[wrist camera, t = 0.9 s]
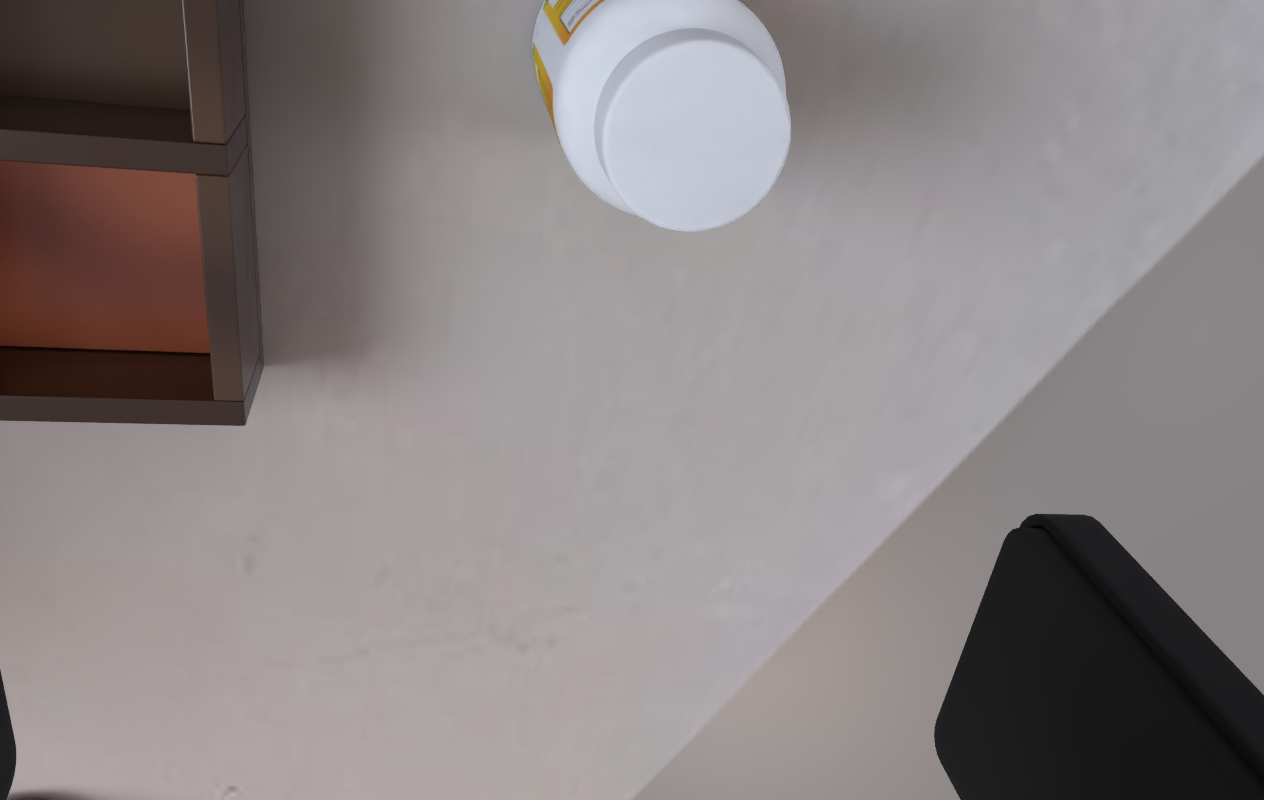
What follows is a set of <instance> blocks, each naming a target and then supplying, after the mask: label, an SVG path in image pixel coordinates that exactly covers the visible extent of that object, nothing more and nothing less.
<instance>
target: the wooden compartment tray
mask: <svg viewBox="0 0 1264 800" xmlns="http://www.w3.org/2000/svg"><path fill="white" fill-rule="evenodd" d="M263 368H264V362H263V345H262V327H261V309H260V291H259V274H258V256H257V238H256V220H255V203H254V185H253V167H252V150H251V132H250V114H249V96H248V79H247V61H246V43H245V25H244V8H243V0H0V420H4V421H50V422H96V423H142V424H188V425H235V426H244V425H246V422H247V418H248V415H249V412H250V409H251V406H252V403H253V400H254V396H255V393H256V390H257V387H258V384H259V381H260V377H261V374H262V371H263Z"/></svg>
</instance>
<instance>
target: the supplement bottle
mask: <svg viewBox="0 0 1264 800" xmlns="http://www.w3.org/2000/svg"><path fill="white" fill-rule="evenodd" d="M532 52H533V64H534V70H535V75H536V78H537V82H538V85H539V88H540V91H541V94H542V96H543V99H544V101H545V104H546V106H547V109H548V111H549V114H550V117H551V120H552V122H553V125H554V128H555V131H556V134H557V137H558V140H559V143H560V145H561V148H562V150H563V152H564V154H565V156H566V157H567V159H568V161H569V163H570V164H571V166H572V168H573V169H574V171H575V172H576V174H577V175H578V176H579V178H580V179H581V180H582V181H583V183H584V184H585V185H586V186H587V187H588V188H589V189H590V190H591V191H592V192H593V193H594V194H596V195H597V196H599V197H600V198H601V199H602V200H603V201H605V202H607V203H608V204H610V205H612V206H614V207H616V208H618V209H620V210H622V211H624V212H627V213H630V214H633V215H636V216H640V217H642V218H643V219H645V220H646V221H648V222H650V223H652V224H654V225H657V226H659V227H662V228H666V229H670V230H674V231H683V232H696V231H706V230H711V229H714V228H718V227H721V226H724V225H726V224H728V223H731V222H733V221H735V220H737V219H738V218H740V217H742V216H743V215H745V214H746V213H748V212H749V211H750V210H751V209H753V208H754V207H755V206H756V205H758V204H759V203H760V202H761V201H762V200H763V198H764V197H765V196H766V195H767V193H768V192H769V191H770V190H771V188H772V187H773V186H774V184H775V182H776V181H777V179H778V177H779V175H780V173H781V171H782V169H783V167H784V164H785V162H786V158H787V155H788V151H789V146H790V140H791V118H790V110H789V105H788V102H787V99H786V83H785V75H784V70H783V65H782V62H781V58H780V55H779V52H778V49H777V47H776V45H775V43H774V41H773V39H772V37H771V36H770V34H769V32H768V31H767V29H766V28H765V26H764V25H763V24H762V22H761V21H760V20H759V19H758V18H757V16H756V15H755V14H754V13H753V12H752V11H751V10H750V9H748V8H747V7H746V6H745V5H744V4H743V3H742V2H740V1H739V0H544V2H543V5H542V7H541V9H540V12H539V14H538V17H537V20H536V24H535V28H534V34H533V44H532Z"/></svg>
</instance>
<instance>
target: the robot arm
mask: <svg viewBox="0 0 1264 800" xmlns="http://www.w3.org/2000/svg"><path fill="white" fill-rule="evenodd" d="M934 738H935V747H936V751H937V755H938V757H939V759H940V762H941V764H942V766H943V767H944V769H945V771H946V773H947V775H948V777H949V778H950V781H951V782H952V784H953V786H954V788H955V790H956V792H957V794H958V796H959V797H960V799H961V800H1264V695H1263V694H1262V693H1261V692H1260V691H1259V690H1258V689H1257V688H1256V687H1255V686H1254V685H1253V684H1252V682H1251V681H1250V680H1249V679H1248V678H1247V677H1246V676H1245V675H1244V674H1243V673H1242V672H1241V671H1240V670H1239V669H1238V668H1237V667H1236V666H1235V665H1234V663H1233V662H1232V661H1231V660H1230V659H1229V658H1228V657H1227V656H1226V655H1225V654H1224V653H1223V652H1222V651H1221V650H1220V649H1219V648H1218V647H1217V646H1216V645H1215V644H1214V643H1213V642H1212V640H1211V639H1210V638H1209V637H1208V636H1207V635H1206V634H1205V633H1204V632H1203V631H1202V630H1201V629H1200V628H1199V627H1198V626H1197V624H1196V623H1194V621H1193V620H1192V619H1191V618H1190V617H1189V616H1188V615H1187V614H1186V613H1185V612H1184V611H1183V610H1182V609H1181V608H1180V607H1179V606H1178V604H1177V603H1176V602H1175V601H1174V600H1173V599H1172V598H1171V597H1170V596H1169V595H1168V594H1167V593H1166V592H1165V591H1164V590H1163V589H1162V588H1161V587H1160V585H1159V584H1158V583H1157V582H1156V581H1155V580H1154V579H1153V578H1152V577H1151V576H1150V575H1149V574H1148V573H1147V572H1146V571H1145V570H1144V569H1143V568H1142V567H1141V565H1140V564H1139V563H1138V562H1137V561H1136V560H1135V559H1134V558H1133V557H1132V556H1131V555H1130V554H1129V553H1128V552H1127V551H1126V550H1125V549H1124V548H1123V546H1122V545H1121V544H1120V543H1119V542H1118V541H1117V540H1116V539H1115V538H1114V537H1113V536H1112V535H1111V534H1110V533H1109V532H1108V531H1107V530H1106V528H1105V527H1104V526H1103V525H1102V524H1101V523H1100V522H1098V521H1097V520H1096V519H1094V518H1093V517H1091V516H1086V515H1066V514H1065V515H1064V514H1035V515H1031V516H1028V517H1027V518H1026V520H1024V521H1023V522H1022V524H1021V525H1020V527H1019V528H1016V529H1013V530H1012V531H1011V532H1009V533H1008V535H1007V536H1006V538H1005V540H1004V542H1003V545H1002V548H1001V551H1000V553H999V556H998V558H997V561H996V564H995V566H994V569H993V572H992V574H991V577H990V580H989V582H988V585H987V588H986V590H985V593H984V596H983V598H982V601H981V603H980V606H979V609H978V611H977V614H976V617H975V620H974V622H973V625H972V627H971V630H970V633H969V635H968V638H967V641H966V643H965V646H964V649H963V651H962V654H961V657H960V660H959V662H958V665H957V667H956V670H955V673H954V676H953V678H952V680H951V683H950V686H949V688H948V691H947V694H946V696H945V699H944V702H943V704H942V707H941V710H940V712H939V715H938V718H937V720H936V725H935V733H934ZM15 766H16V745H15V739H14V734H13V730H12V725H11V720H10V715H9V710H8V705H7V700H6V695H5V691H4V686H3V681H2V676H1V671H0V800H6V798H7V796H8V794H9V791H10V788H11V785H12V782H13V778H14V773H15Z"/></svg>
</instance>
